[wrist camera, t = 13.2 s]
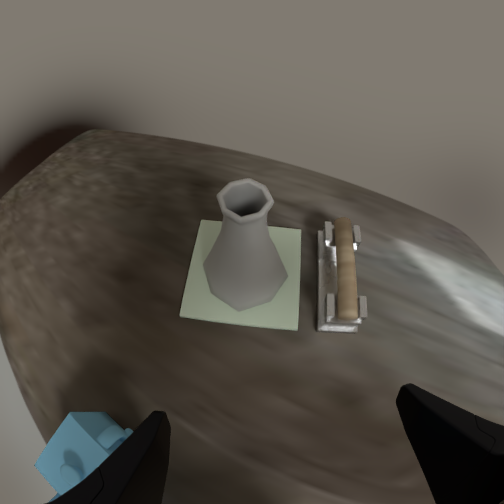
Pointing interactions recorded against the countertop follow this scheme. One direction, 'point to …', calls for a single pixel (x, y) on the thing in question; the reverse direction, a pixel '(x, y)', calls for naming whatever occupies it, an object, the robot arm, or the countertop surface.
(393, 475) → the countertop surface
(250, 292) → the flask
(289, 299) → the pad
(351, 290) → the rod
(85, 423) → the teapot
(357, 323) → the cradle
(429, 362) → the countertop surface
